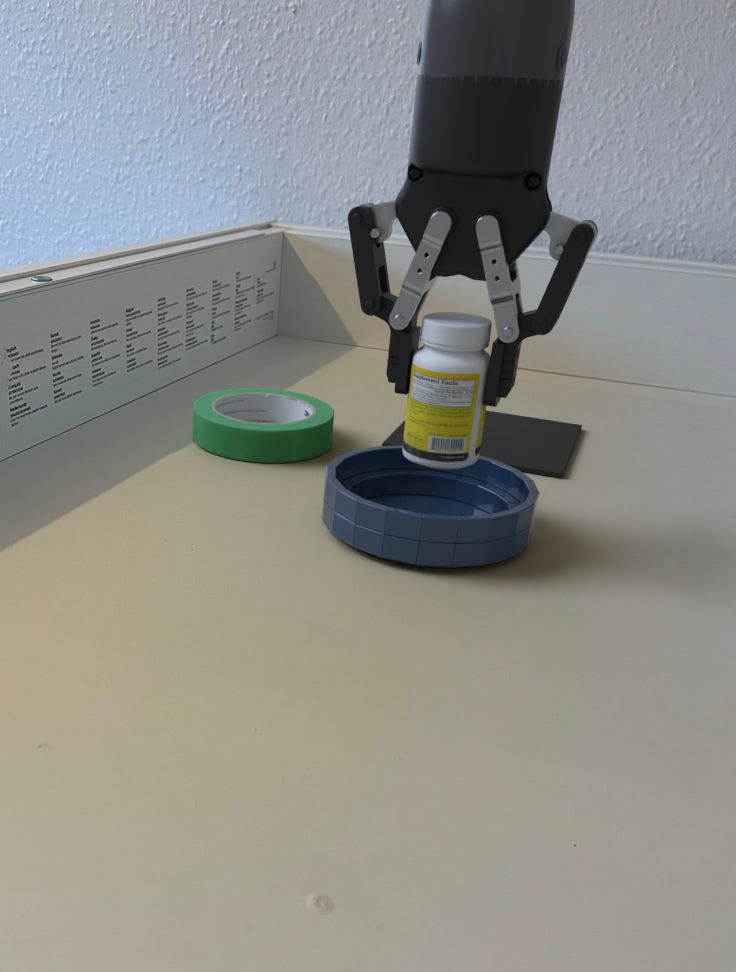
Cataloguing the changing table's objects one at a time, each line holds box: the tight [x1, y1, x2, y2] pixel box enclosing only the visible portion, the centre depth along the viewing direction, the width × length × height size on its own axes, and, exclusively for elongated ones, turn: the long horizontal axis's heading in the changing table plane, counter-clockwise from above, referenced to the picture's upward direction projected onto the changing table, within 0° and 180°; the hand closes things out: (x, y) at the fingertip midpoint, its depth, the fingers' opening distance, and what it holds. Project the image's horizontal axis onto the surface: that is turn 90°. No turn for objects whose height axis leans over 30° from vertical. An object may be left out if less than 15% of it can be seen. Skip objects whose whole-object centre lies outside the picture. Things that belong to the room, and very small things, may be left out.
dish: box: [321, 445, 540, 569], centre depth 63 cm, size 13×13×4 cm
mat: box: [381, 409, 583, 479], centre depth 82 cm, size 14×14×1 cm
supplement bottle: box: [402, 311, 493, 469], centre depth 59 cm, size 5×5×8 cm
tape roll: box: [192, 387, 335, 464], centre depth 78 cm, size 11×11×3 cm
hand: (447, 395), depth 59 cm, fingers closed on supplement bottle, 4 cm apart
